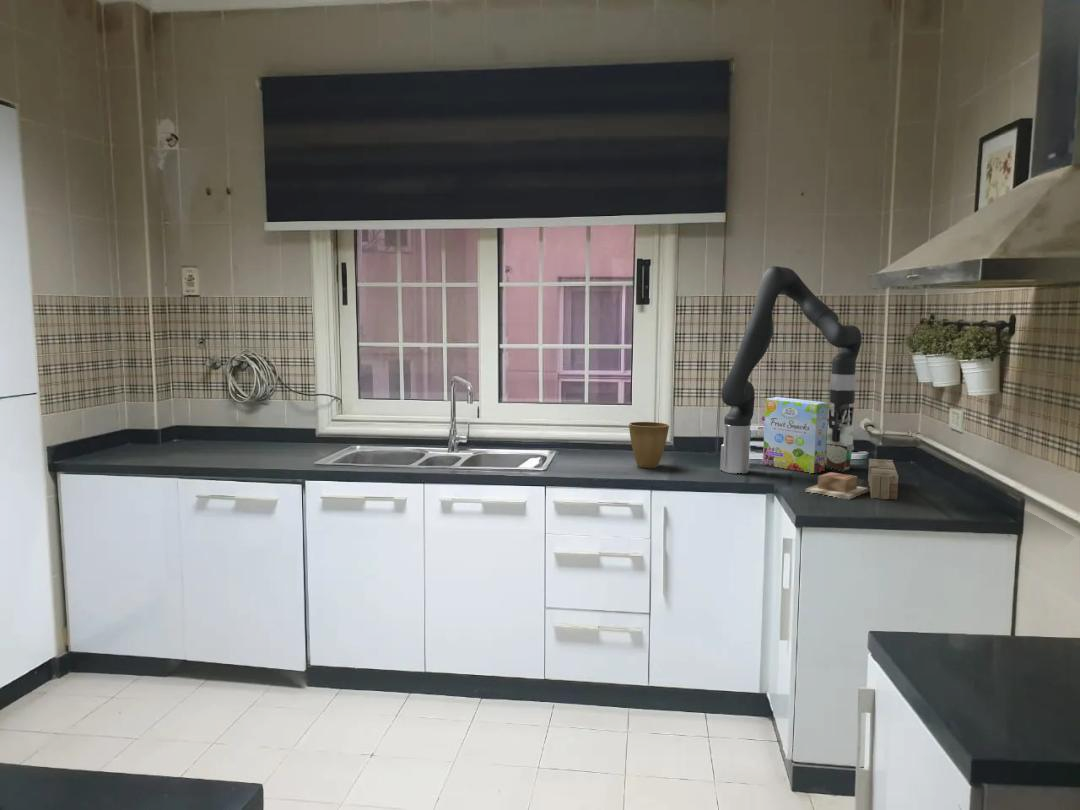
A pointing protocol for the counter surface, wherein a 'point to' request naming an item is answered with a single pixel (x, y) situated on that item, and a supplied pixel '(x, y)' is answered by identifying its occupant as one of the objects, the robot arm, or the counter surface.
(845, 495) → the base board
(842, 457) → the food container
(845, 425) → the sage cube
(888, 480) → the block tower
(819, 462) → the snack box
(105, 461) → the counter surface
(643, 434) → the plant pot
